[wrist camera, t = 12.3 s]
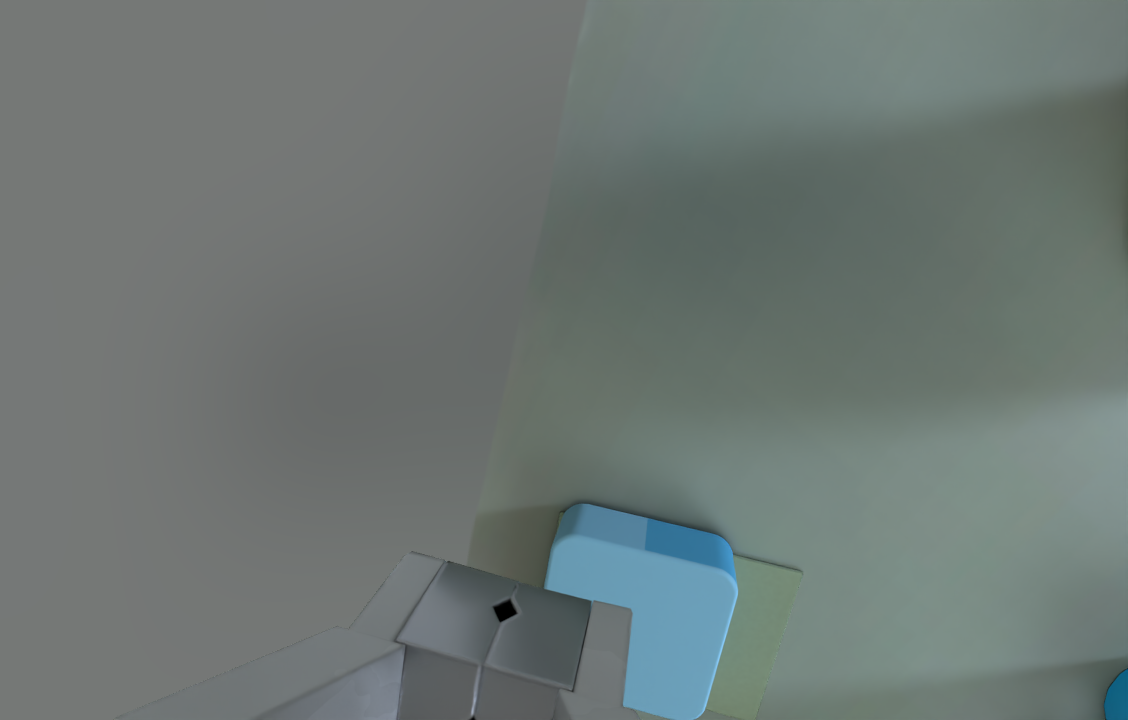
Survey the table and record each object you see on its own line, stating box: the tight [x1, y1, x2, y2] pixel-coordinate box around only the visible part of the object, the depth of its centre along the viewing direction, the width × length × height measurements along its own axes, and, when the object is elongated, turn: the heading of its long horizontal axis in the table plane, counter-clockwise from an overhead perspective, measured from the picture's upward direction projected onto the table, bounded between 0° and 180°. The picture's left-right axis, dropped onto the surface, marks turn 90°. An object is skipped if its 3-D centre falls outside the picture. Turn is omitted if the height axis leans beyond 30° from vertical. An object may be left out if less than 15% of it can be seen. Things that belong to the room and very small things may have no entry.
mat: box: [556, 512, 803, 720], centre depth 46 cm, size 17×13×1 cm
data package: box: [544, 504, 738, 720], centre depth 43 cm, size 12×4×12 cm
